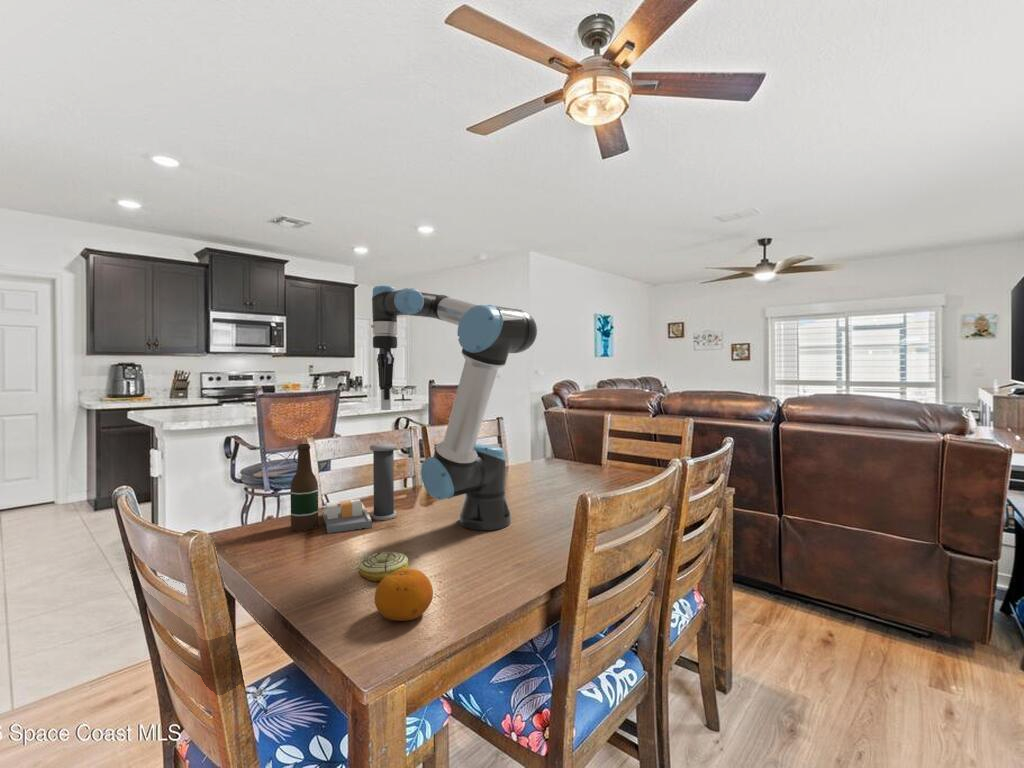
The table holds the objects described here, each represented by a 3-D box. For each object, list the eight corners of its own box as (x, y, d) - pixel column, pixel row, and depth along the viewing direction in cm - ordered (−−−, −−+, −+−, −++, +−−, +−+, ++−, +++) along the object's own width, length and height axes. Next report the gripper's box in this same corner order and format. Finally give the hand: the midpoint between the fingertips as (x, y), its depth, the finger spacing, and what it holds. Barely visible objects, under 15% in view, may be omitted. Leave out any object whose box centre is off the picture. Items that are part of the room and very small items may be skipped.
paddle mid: (352, 516, 143) (352, 504, 142) (342, 517, 141) (342, 505, 141) (350, 511, 147) (350, 500, 147) (340, 512, 146) (340, 501, 146)
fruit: (393, 597, 97) (393, 558, 97) (441, 605, 94) (441, 565, 94) (363, 624, 87) (362, 581, 87) (415, 634, 84) (415, 589, 84)
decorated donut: (380, 561, 116) (380, 545, 116) (417, 569, 111) (417, 553, 111) (348, 578, 106) (348, 561, 106) (387, 587, 102) (387, 570, 102)
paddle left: (337, 518, 141) (337, 506, 141) (327, 519, 140) (327, 507, 140) (336, 513, 145) (336, 501, 145) (326, 514, 144) (326, 502, 144)
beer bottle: (285, 527, 138) (284, 444, 137) (311, 521, 144) (311, 441, 143) (296, 534, 133) (295, 447, 132) (324, 527, 139) (323, 444, 138)
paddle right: (362, 515, 144) (362, 503, 144) (352, 516, 143) (352, 504, 142) (359, 510, 148) (359, 499, 148) (350, 511, 147) (350, 500, 147)
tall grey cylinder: (399, 518, 147) (399, 446, 146) (372, 522, 144) (372, 448, 143) (394, 511, 154) (393, 442, 153) (368, 514, 151) (368, 444, 150)
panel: (371, 527, 139) (371, 518, 139) (327, 533, 134) (327, 524, 133) (362, 510, 155) (362, 502, 155) (322, 515, 150) (322, 506, 150)
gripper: (368, 336, 157) (369, 408, 158) (377, 334, 146) (378, 411, 147) (391, 337, 161) (392, 408, 162) (402, 334, 149) (402, 410, 150)
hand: (385, 409), depth 154 cm, fingers closed
